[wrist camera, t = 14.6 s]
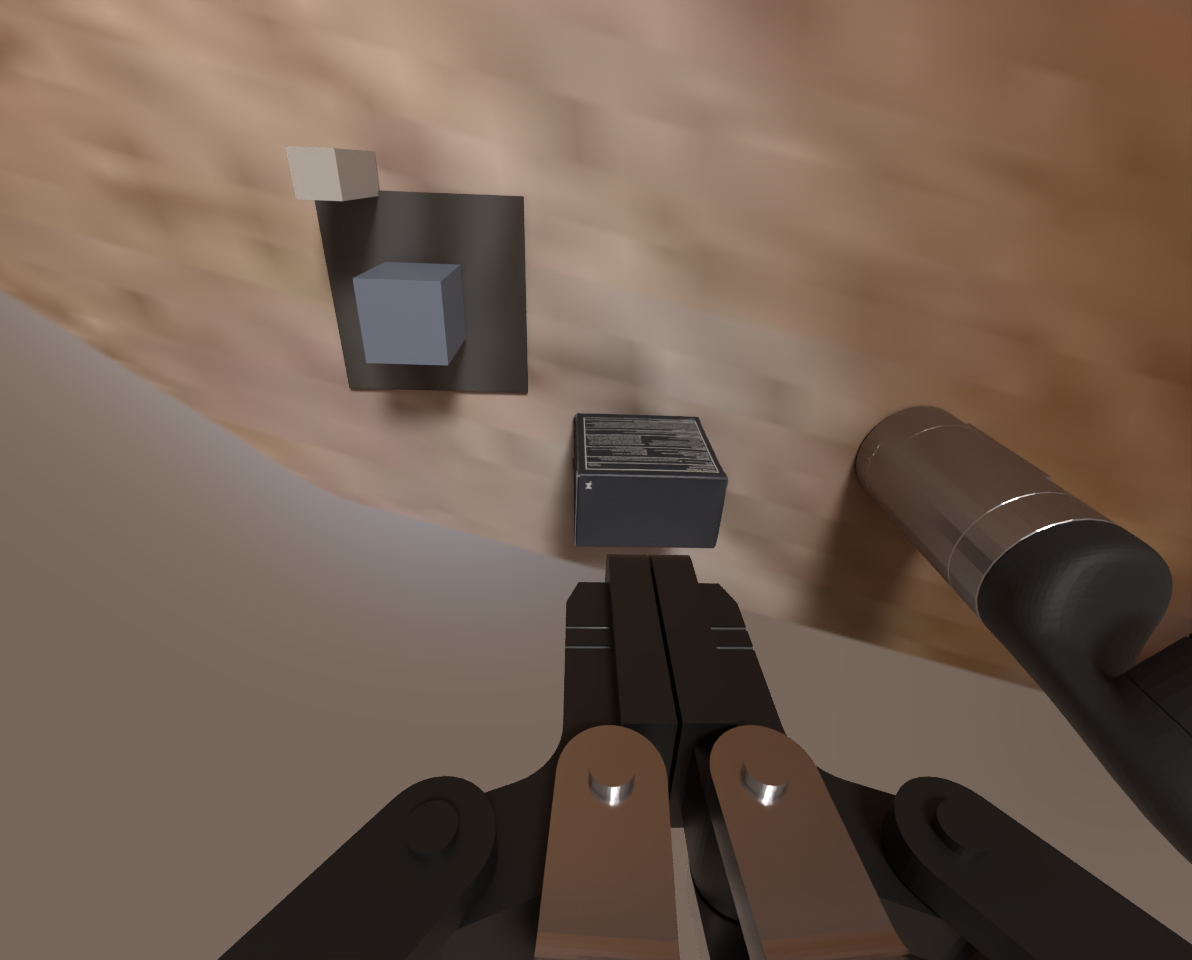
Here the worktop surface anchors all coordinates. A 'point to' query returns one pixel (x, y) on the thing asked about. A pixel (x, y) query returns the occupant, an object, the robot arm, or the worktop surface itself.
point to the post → (332, 173)
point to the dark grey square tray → (436, 236)
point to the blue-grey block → (411, 313)
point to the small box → (645, 482)
